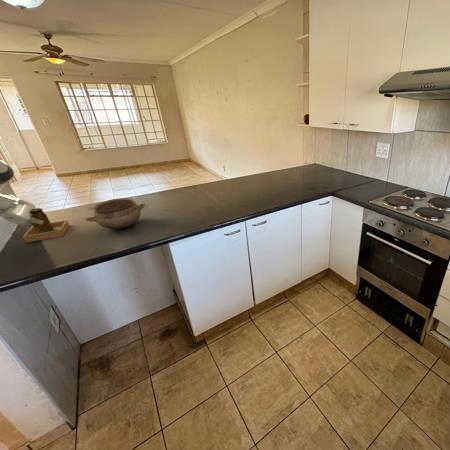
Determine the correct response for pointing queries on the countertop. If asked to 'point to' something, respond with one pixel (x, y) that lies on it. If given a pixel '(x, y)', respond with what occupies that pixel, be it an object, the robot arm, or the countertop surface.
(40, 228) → the condiment
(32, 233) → the tray
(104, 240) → the countertop surface
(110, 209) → the cooking pot
